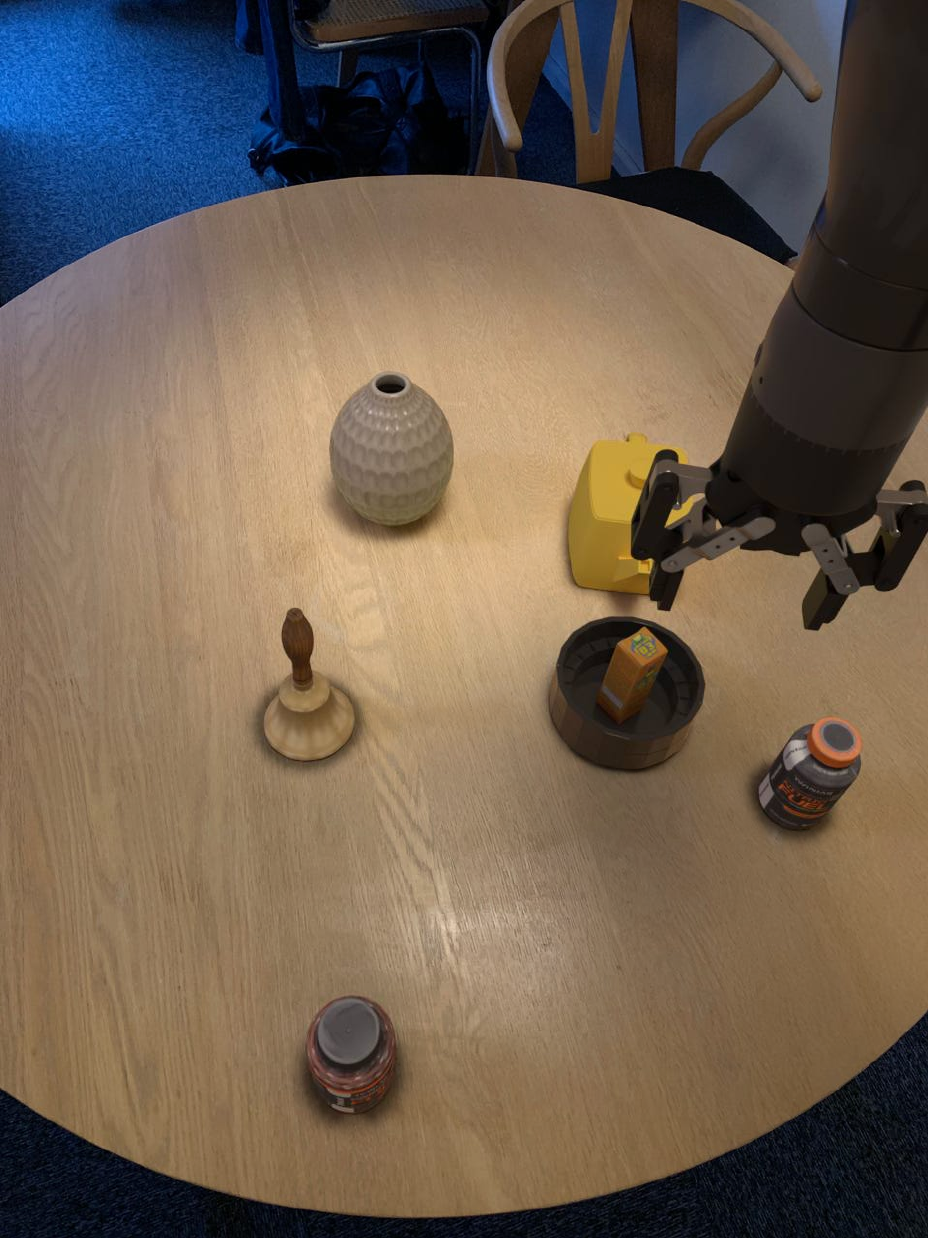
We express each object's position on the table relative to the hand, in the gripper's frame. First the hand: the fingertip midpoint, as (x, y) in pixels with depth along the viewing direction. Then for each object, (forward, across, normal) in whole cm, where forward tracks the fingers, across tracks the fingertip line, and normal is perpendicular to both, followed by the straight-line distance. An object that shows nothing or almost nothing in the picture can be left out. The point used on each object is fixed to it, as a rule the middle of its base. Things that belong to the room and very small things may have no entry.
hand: (735, 609), depth 55 cm
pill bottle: (+32, +14, +6) cm, 36 cm away
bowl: (+32, -1, +13) cm, 35 cm away
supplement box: (+32, -1, +13) cm, 34 cm away
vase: (+32, -27, +35) cm, 55 cm away
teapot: (+32, -1, +32) cm, 46 cm away
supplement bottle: (+32, -20, -21) cm, 43 cm away
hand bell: (+32, -30, +7) cm, 44 cm away
